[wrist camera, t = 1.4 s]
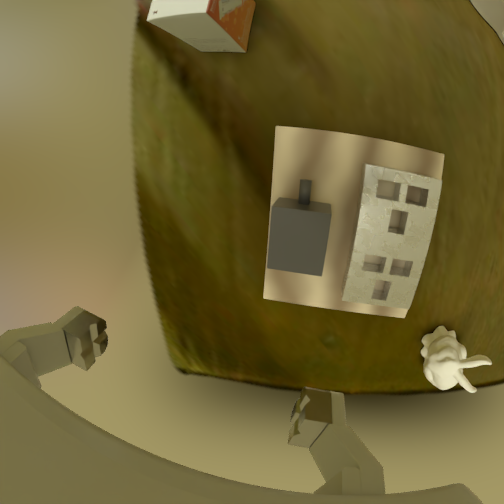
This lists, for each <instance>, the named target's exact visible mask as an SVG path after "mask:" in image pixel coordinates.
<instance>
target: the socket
mask: <svg viewBox="0 0 504 504" xmlns="http://www.w3.org/2000/svg"><path fill="white" fill-rule="evenodd" d="M378 179H381V180H386V181H392V182H395V188H394V194H393V197H389V196H383V195H378V194H376V193H377V186H378ZM408 185H411V186H416V187H420V188H421V194H420V199H419V202H414V201H409V200H406V195H407V188H408ZM441 186H442V180H439V179H437V178H434V177H430V176H426V175H422V174H417V173H413V172H409V171H404V170H399V169H394V168H389V167H384V166H379V165H373V164H368V163H363V166H362V174H361V182H360V190H359V197H358V204H357V211H356V217H355V223H354V229H353V235H352V241H351V246H350V251H349V256H348V261H347V266H346V271H345V276H344V280H343V285H342V289H341V294H342V301H348V302H356V303H363V304H371V305H379V306H387V307H395V308H403V309H409V308H410V305H411V303H412V300H413V297H414V294H415V291H416V288H417V285H418V282H419V279H420V276H421V272H422V269H423V266H424V262H425V259H426V255H427V251H428V248H429V244H430V240H431V236H432V231H433V227H434V223H435V218H436V213H437V208H438V203H439V198H440V192H441ZM392 209H394V210H400V211H402V213H401V218H400V223H399V228H395V227H389V222H390V216H391V211H392ZM365 254H368V255H374V256H381V260H380V264H373V263H367V262H364V258H365ZM393 258H394V259H400V260H406V262H405V266H404V268H400V267H393V266H391V265H392V261H393ZM376 280H382V281H385V285H384V288H383V290H375V289H374V286H375V282H376Z"/></svg>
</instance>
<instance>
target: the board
mask: <svg viewBox="0 0 504 504" xmlns="http://www.w3.org/2000/svg"><path fill="white" fill-rule="evenodd" d="M363 163H368V164H373V165H379V166H384V167H389V168H394V169H399V170H404V171H409V172H413V173H417V174H422V175H426V176H430V177H434V178H437V179H439V180H441V178H442V171H443V163H444V154H441V153H437V152H434V151H430V150H426V149H422V148H418V147H414V146H410V145H405V144H401V143H396V142H392V141H387V140H382V139H377V138H371V137H365V136H360V135H353V134H347V133H340V132H333V131H325V130H316V129H307V128H296V127H284V126H276V130H275V146H274V162H273V177H272V191H271V205H270V219H269V233H268V246H267V258H266V271H265V283H264V295H263V298H264V299H270V300H276V301H282V302H289V303H295V304H301V305H308V306H314V307H321V308H328V309H335V310H342V311H350V312H357V313H365V314H373V315H381V316H390V317H399V318H405V316H406V313H407V310H408V309H403V308H395V307H387V306H379V305H371V304H363V303H356V302H348V301H342V294H341V289H342V285H343V280H344V276H345V271H346V266H347V261H348V256H349V251H350V246H351V241H352V235H353V229H354V223H355V217H356V211H357V204H358V197H359V190H360V182H361V174H362V166H363ZM300 179H308V180H312V186H311V196H310V201H314V202H322V203H329V204H331V212H332V216H331V223H330V230H329V237H328V243H327V249H326V256H325V262H324V267H323V273H322V277H321V276H314V275H308V274H301V273H294V272H288V271H281V270H275V269H268V268H267V260H268V247H269V234H270V221H271V208H272V205H273V204H274V203H275V201H276V200H277V199H278V198H279V197H282V198H291V199H298V197H299V187H300ZM394 188H395V182H392V181H386V180H381V179H378V186H377V193H376V194H378V195H383V196H389V197H393V194H394ZM420 194H421V188H420V187H416V186H411V185H408V188H407V195H406V200H409V201H414V202H419V199H420ZM401 213H402V211H400V210H394V209H392V211H391V216H390V222H389V227H395V228H399V223H400V218H401ZM380 260H381V256H374V255H368V254H365V258H364V262H367V263H373V264H380ZM405 262H406V260H400V259H394V258H393V261H392V265H391V266H393V267H400V268H404V266H405ZM384 285H385V281H382V280H376V282H375V286H374V289H375V290H383V288H384Z"/></svg>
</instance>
